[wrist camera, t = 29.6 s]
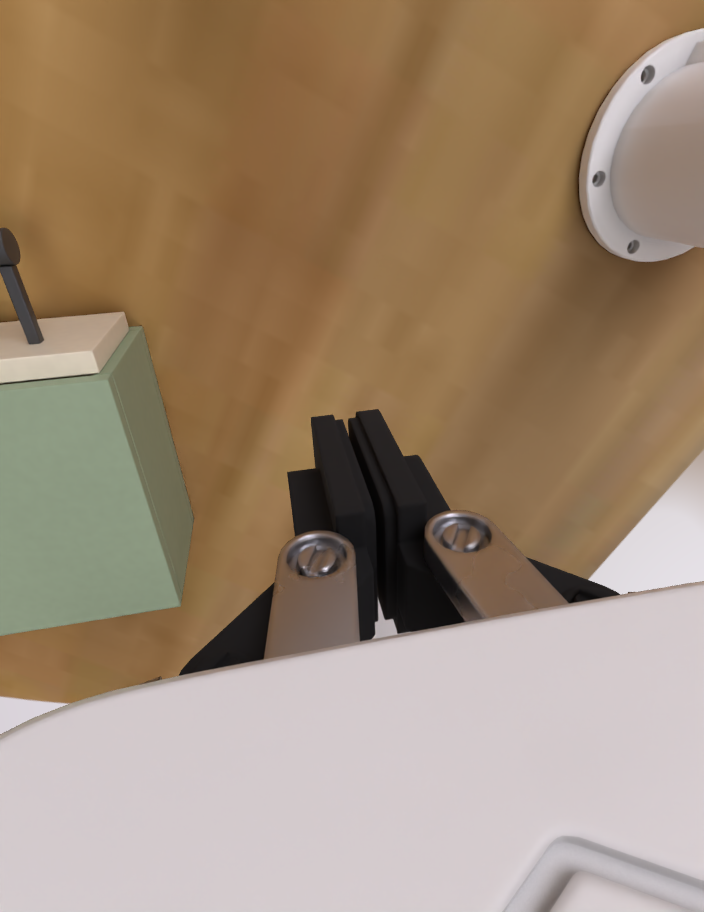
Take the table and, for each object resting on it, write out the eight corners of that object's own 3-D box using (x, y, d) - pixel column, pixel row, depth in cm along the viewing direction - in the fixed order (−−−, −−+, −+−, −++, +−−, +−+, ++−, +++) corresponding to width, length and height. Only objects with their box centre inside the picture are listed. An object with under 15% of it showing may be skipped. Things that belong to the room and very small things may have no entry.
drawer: (-156, 229, 26) (-286, 251, 20) (96, 213, 27) (52, 229, 21) (1, 527, 36) (-50, 603, 30) (178, 503, 38) (164, 570, 32)
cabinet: (-94, 347, 30) (-215, 413, 22) (142, 325, 32) (107, 379, 24) (11, 545, 38) (-50, 644, 30) (194, 519, 40) (180, 606, 32)
